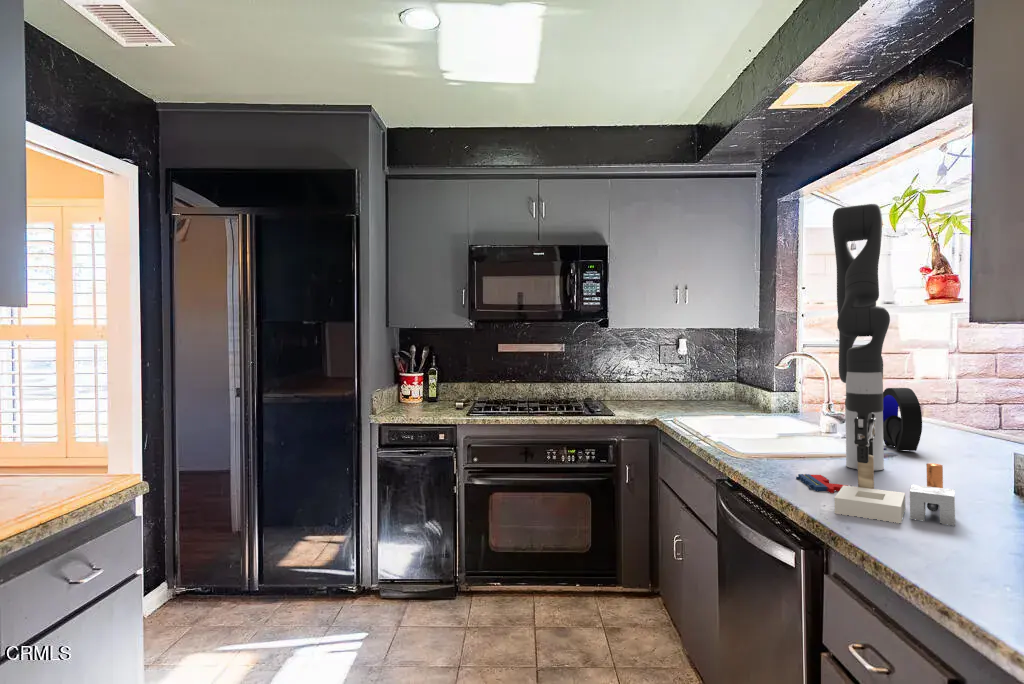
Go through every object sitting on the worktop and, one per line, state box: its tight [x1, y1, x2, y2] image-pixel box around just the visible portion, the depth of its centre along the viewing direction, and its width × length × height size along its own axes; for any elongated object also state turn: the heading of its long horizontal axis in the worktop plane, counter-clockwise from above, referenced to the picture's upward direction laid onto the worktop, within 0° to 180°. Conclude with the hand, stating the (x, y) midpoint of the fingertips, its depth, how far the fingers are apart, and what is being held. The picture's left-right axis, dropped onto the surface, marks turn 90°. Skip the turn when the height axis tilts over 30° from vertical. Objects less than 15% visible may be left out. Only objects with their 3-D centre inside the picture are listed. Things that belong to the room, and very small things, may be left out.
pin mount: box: [909, 484, 956, 527], centre depth 120 cm, size 7×6×6 cm
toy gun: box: [795, 473, 852, 494], centre depth 147 cm, size 15×2×10 cm
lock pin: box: [926, 462, 944, 512], centre depth 127 cm, size 3×16×8 cm, turn 142°
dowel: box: [857, 455, 875, 489], centre depth 136 cm, size 3×3×10 cm
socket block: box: [834, 484, 906, 524], centre depth 126 cm, size 12×12×4 cm
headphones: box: [883, 387, 923, 452], centre depth 186 cm, size 18×7×20 cm, turn 167°
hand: (865, 459), depth 135 cm, fingers open, 8 cm apart
